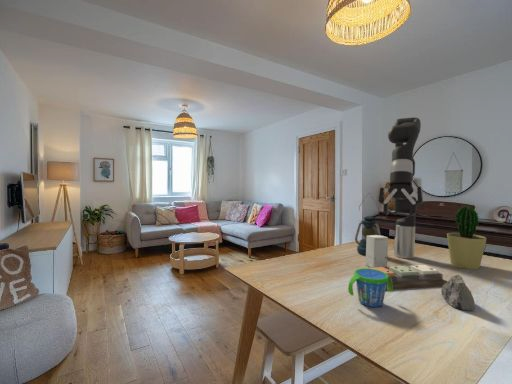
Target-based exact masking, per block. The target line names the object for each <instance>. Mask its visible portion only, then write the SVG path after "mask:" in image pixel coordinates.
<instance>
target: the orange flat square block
mask: <svg viewBox="0 0 512 384" xmlns="http://www.w3.org/2000/svg"><path fill="white" fill-rule="evenodd" d="M367 269H375V270H379V271H382V272H384V273H386V274H387V275H388V276H394V272H392V271H390V270H388V269H389V268H387V267H374V268H371V267H368V268H367Z"/></svg>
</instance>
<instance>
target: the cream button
mask: <svg viewBox="0 0 512 384" xmlns="http://www.w3.org/2000/svg"><path fill="white" fill-rule="evenodd" d="M409 268H410V269H412V270H414V271H417V272H419V273H421V274H438V272H439V270H438V269H436V268H432V267H431V266H428V265H427V264H420V265H419V264H418V265H410V266H409Z"/></svg>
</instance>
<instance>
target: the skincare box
mask: <svg viewBox="0 0 512 384" xmlns="http://www.w3.org/2000/svg"><path fill="white" fill-rule="evenodd" d="M388 246H389V237H388V236H384V235H377V234H375V235H369V236H367V238H366V256H365V266H367V267H368V268H374V267H384V268H387V267H388V249H389V247H388Z"/></svg>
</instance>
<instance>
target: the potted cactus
mask: <svg viewBox="0 0 512 384" xmlns="http://www.w3.org/2000/svg"><path fill="white" fill-rule="evenodd" d="M479 217H480V216H479V213H478V211H477V210H475V209H474V207H473V206H468V205H465V206H462V207H460V208H459V209H458V210H457V211H456V212H455V219H454V223H457V225H456V226H457V229H458V232H448V233H446V237H447V238H446V239H447V245H448V252H449V260H450V264H451V265H452V266H455V267H459V268H462V269H467V270H478V269H480V268H481V264H482V260H483V256H484V253H485V252H484V251H485V247H486V243H487V237H485V236H483V235H480V234H479V235H477V234H475V233H476V231H477V227H479V225H480V223H479Z"/></svg>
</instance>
